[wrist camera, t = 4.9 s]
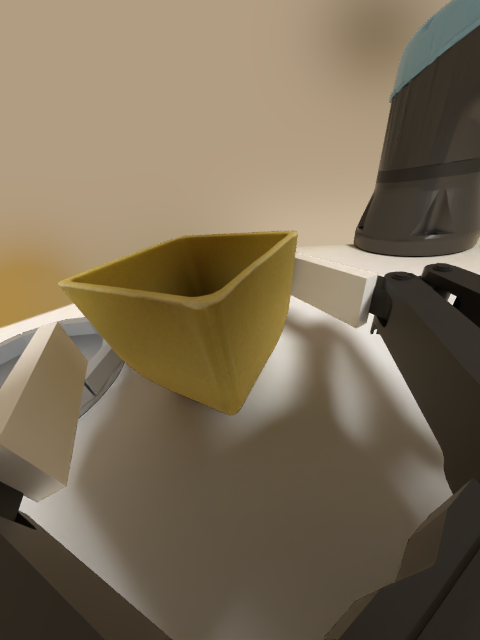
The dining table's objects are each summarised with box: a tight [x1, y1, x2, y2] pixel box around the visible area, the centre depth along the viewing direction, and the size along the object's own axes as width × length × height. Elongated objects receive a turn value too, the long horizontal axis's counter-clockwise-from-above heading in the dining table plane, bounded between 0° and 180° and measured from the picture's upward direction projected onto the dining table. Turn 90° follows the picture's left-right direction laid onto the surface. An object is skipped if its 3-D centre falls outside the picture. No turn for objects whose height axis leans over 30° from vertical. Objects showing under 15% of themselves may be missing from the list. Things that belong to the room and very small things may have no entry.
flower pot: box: [58, 231, 298, 415], centre depth 13 cm, size 9×9×9 cm
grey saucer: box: [0, 317, 124, 418], centre depth 17 cm, size 14×14×2 cm
